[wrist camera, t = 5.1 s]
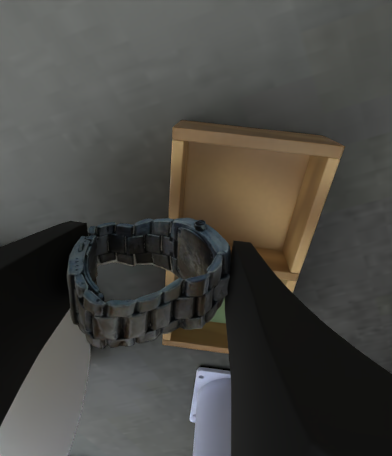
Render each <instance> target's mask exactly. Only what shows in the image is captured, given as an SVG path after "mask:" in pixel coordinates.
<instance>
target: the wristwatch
mask: <svg viewBox="0 0 392 456" xmlns="http://www.w3.org/2000/svg"><path fill="white" fill-rule="evenodd" d="M88 235H89V236H81V238H80V239H79V240H78V241H77V243H76V244H75V245H74V247H73V249H72V251H71V253H70V255H69V260H68V269H67V284H68V290H69V299H70V315H71V320H72V322H73V324H75V325H78V327H79V329H80V330H81V331H82V332H83V333H84V334H85V336H86V340H87V341H88V342H89V343H90V344H91V345H92V346H93V347H96V348H100V349H104V348H105V347H106V346H107V345H108V346H109V347H110V348H114V347H118V346H132V345H134V343H135V342H137V343H144V342H149V341H152V340H154V339H156V338H157V337H158V335H159V334H168V333H170V332H172V331H174V330H176V329H178V328H179V327H180V328H183V329H186V330H192V329H201V328H202V327H203V326H204V325H205V324H206V323H208V322H209V321H210V320H211V319H212V318H213V317H214V316H215V313H216V311H217V309H219V308H220V307H221V305H222V303H223V300H224V297H225V296H226V295H228V284H229V279H230V265H231V250H230V246H229V244H228V242H227V241H226V240H225V239H224V238H223V237H222V236H221V235H220V234H219V233H218V232H217V231H216V230H215V229H213V228H212V227H210V226H209V225H207V224H206V222H205V221H204V220H195V219H192V218H177V219H170V218H163V219H155V220H153V219H149V218H147V219H144V220H141V221H138V222H137V223H135V224H133V225H131V224H123V223H120V224H117V225H116V223H115V222H109V223H104V224H100V225H98V226H91V227H90V228H89V229H88ZM109 263H121V264H125V265H129V266H135V265H154V266H156V267H160V268H163V269H165V270H168V271H170V272H172V273H173V274H175V275H176V276H177V277H178V279H177V280H175V281H173V282H172V283H170V284H169V285H167V286H166V287H164V288H163V289H161V290H160V291H157V292H154V293H151V294H148V295H145V296H142V297H139V298H137V299H135V300H131V299H130V300H123V301H122V300H110V301H108V302H106V303H105V302H104V295H103V294H102V293H100V290H99V287H98V286H97V282H96V277H97V276H98V275H97V267H98V266H99V265H105V264H109Z"/></svg>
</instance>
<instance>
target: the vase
mask: <svg viewBox="0 0 392 456" xmlns="http://www.w3.org/2000/svg"><path fill="white" fill-rule="evenodd" d="M89 365H90V343H89V342H88V341H87V340H86V336H85V334H84V333H83V332H82V331H81V330H80V329H79V327H78V325H75V324H73V322H72V320H71V315H70V309H69V310H68V312H67V313H66V315H65V316H64V318H63V319H62V321H61V322H60V324H59V325H58V326H57V328H56V329H55V331H54V332H53V334H52V335H51V337H50V338H49V340H48V341H47V343H46V344H45V345H44V347H43V349H42V350H41V352H40V353H39V355H38V357H37V358H36V360H35V362H34V364H33V365H32V367H31V369H30V371H29V373H28V375H27V376H26V378H25V380H24V382H23V384H22V385H21V387H20V389H19V391H18V393H17V395H16V397H15V399H14V401H13V403H12V405H11V407H10V409H9V410H8V412H7V414H6V416H5V418H4V420H3V422H2V424H1V426H0V456H68V454H69V451H70V448H71V446H72V443H73V440H74V436H75V433H76V430H77V427H78V423H79V419H80V416H81V411H82V407H83V402H84V397H85V392H86V387H87V381H88V373H89Z"/></svg>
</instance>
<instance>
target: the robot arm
mask: <svg viewBox="0 0 392 456" xmlns="http://www.w3.org/2000/svg"><path fill="white" fill-rule="evenodd" d="M81 236H88V231H87V223H81V222H73V221H69V222H65V223H62V224H59V225H56V226H53V227H51V228H48V229H46V230H43V231H40V232H38V233H35V234H33V235H30V236H28V237H25V238H23V239H20V240H18V241H15V242H12V243H10V244H7V245H4V246H2V247H0V426H1V424H2V422H3V420H4V418H5V416H6V414H7V412H8V410H9V409H10V407H11V405H12V403H13V401H14V399H15V397H16V395H17V393H18V391H19V389H20V387H21V385H22V384H23V382H24V380H25V378H26V376H27V375H28V373H29V371H30V369H31V367H32V365H33V364H34V362H35V360H36V358H37V357H38V355H39V353H40V352H41V350H42V349H43V347H44V345H45V344H46V343H47V341H48V340H49V338H50V337H51V335H52V334H53V332H54V331H55V329H56V328H57V326H58V325H59V324H60V322H61V321H62V319H63V318H64V316H65V315H66V313H67V312H68V310H69V309H70V299H69V290H68V284H67V269H68V260H69V255H70V253H71V251H72V249H73V247H74V245H75V244H76V243H77V241H78V240H79V239H80V238H81ZM225 318H226V329H227V340H228V351H229V361H230V371H227V370H220V369H212V368H205V367H200V368H198V369H197V373H196V380H195V386H194V393H193V399H192V406H191V412H190V421H191V422H194V423H195V433H194V447H193V456H392V374H391V373H390V372H388V371H387V370H385V369H384V368H382V367H381V366H379V365H378V364H377V363H375V362H374V361H372V360H371V359H370V358H368V357H367V356H365V355H364V354H363V353H361V352H360V351H359V350H357V349H356V348H355V347H353V346H352V345H351V344H350V343H348V342H347V341H346V340H344V339H343V338H342V337H341V336H339V335H338V334H337V333H336V332H334V331H333V330H332V329H331V328H329V327H328V326H327V325H326V324H325V323H324V322H322V321H321V320H320V319H319V318H318V317H317V316H316V315H315V314H314V313H312V312H311V311H310V310H309V309H308V308H307V307H306V306H305V305H304V304H303V303H302V302H301V301H300V300H299V299H298V298H297V297H296V296H295V295H294V294H293V293H292V292H291V291H290V290H289V289H288V288H287V287H286V286H285V285H284V283H283V282H282V281H281V280H280V279H279V278H278V277H277V275H276V274H275V273H274V272H273V271H272V269H271V268H270V267H269V266H268V264H267V263H266V262H265V261H264V259H263V258H262V257H261V255H260V254H259V253H258V251H257V250H256V249H255V247H254V246H253V245H252V243H251V242H243V241H235V240H233V246H232V251H231V265H230V279H229V284H228V295H226V296H225Z"/></svg>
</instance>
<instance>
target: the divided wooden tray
mask: <svg viewBox="0 0 392 456" xmlns="http://www.w3.org/2000/svg"><path fill="white" fill-rule="evenodd" d="M172 139H173V140H172V154H171V175H170V196H169V216H168V218H170V219H177V218H192V219H195V220H204V221H205V222H206V224H207V225H209V226H210V227H212V228H213V229H215V230H216V231H217V232H218V233H219V234H220V235H221V236H222V237H223V238H224V239H225V240H226V241H227V242H228V244H229V246H230V250H231V251H232V246H233V240H235V241H243V242H251V243H252V245H253V246H254V247H255V249H256V250H257V251H258V253H259V254H260V255H261V257H262V258H263V259H264V261H265V262H266V263H267V264H268V266H269V267H270V268H271V269H272V271H273V272H274V273H275V274H276V275H277V277H278V278H279V279H280V280H281V281H282V282H283V283H284V285H285V286H286V287H287V288H288V289H289V290H290V291H291V292H292V293H293V291H294V288H295V285H296V282H297V279H298V277H299V273H300V271H301V268H302V265H303V262H304V260H305V257H306V254H307V251H308V248H309V246H310V243H311V240H312V237H313V234H314V232H315V229H316V226H317V223H318V220H319V218H320V215H321V212H322V209H323V206H324V203H325V201H326V198H327V195H328V192H329V189H330V187H331V184H332V181H333V178H334V175H335V173H336V170H337V167H338V164H339V161H340V159H339V158H341V156H342V153H343V151H344V148H345V146H343V145H341V144H339V143H337V142H335V141H333V140H331V139H329V138H327V137H325V136H322V135H313V134H304V133H295V132H286V131H277V130H268V129H259V128H250V127H241V126H232V125H223V124H214V123H205V122H196V121H187V120H181V121H180V122H178V123H177V124H176V125H175V126H174V127H173V133H172ZM177 279H178V277H177V276H176V275H175V274H173V273H172V272H170V271H168V270H166V279H165V287H166V286H167V285H169V284H170V283H172V282H173V281H175V280H177ZM162 344H163V345H168V346H175V347H182V348H190V349H197V350H205V351H212V352H219V353H227V354H229V351H228V340H227V329H226V318H225V297H224V300H223V303H222V305H221V307H220V308H219V309H217V311H216V313H215V316H214V317H213V318H212V319H211V320H210V321H209V322H208V323H206V324H205V325H204V326H203V327H202V328H201V329H192V330H186V329H183V328H180V327H179V328H178V329H176V330H174V331H172V332H170V333H168V334H163V340H162Z"/></svg>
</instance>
